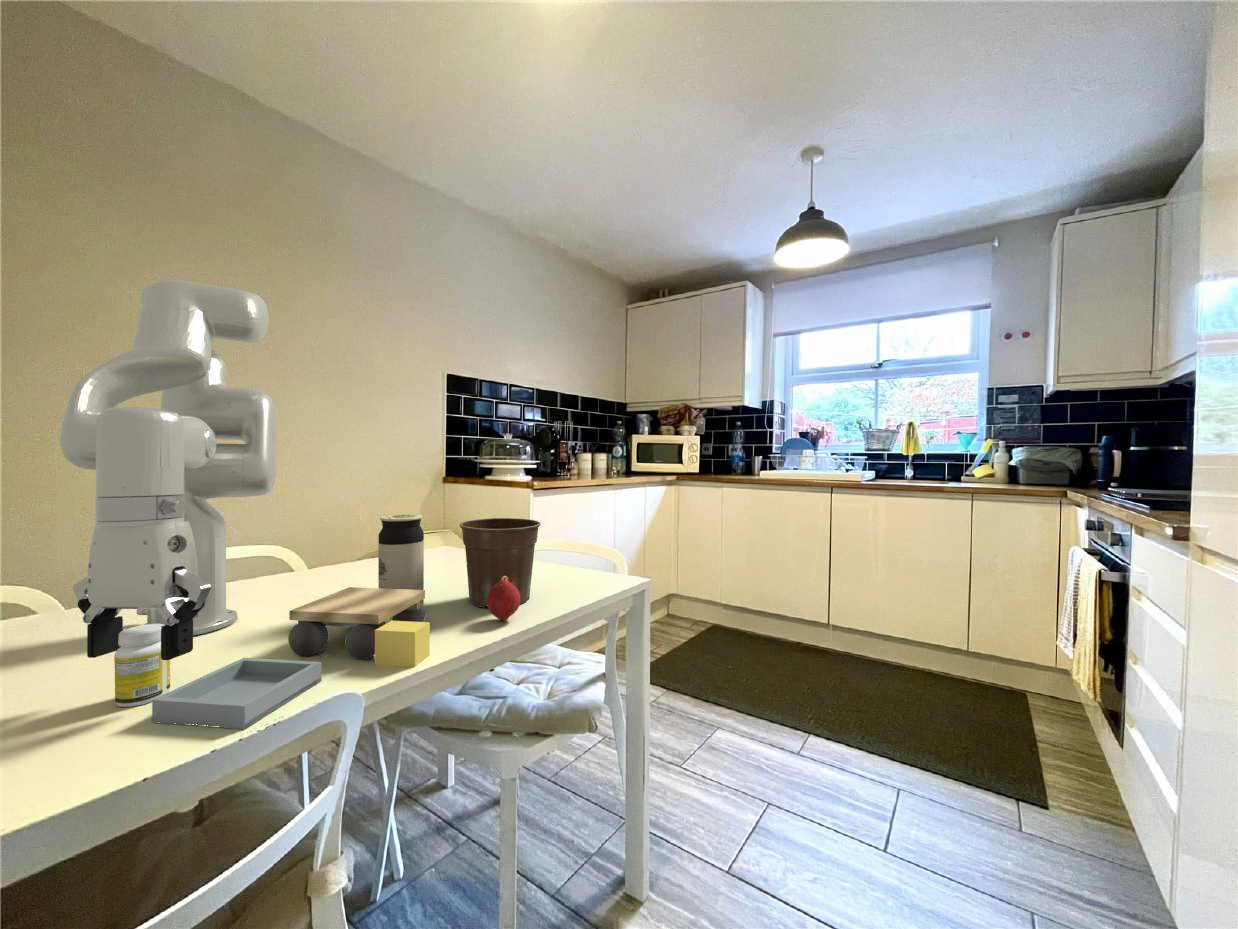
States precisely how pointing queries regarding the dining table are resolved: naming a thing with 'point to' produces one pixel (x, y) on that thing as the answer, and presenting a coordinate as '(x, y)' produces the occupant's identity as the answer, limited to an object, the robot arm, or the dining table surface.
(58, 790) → the dining table surface
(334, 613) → the dolly
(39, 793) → the dining table surface
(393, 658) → the block
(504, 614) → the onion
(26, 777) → the dining table surface
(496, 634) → the dining table surface
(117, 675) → the supplement bottle
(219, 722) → the tray
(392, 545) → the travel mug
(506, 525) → the plant pot
